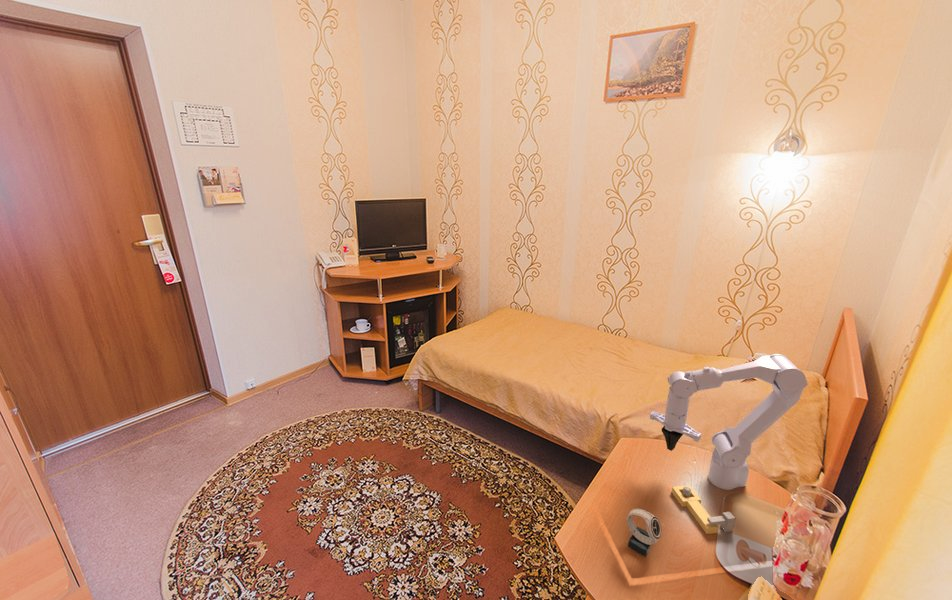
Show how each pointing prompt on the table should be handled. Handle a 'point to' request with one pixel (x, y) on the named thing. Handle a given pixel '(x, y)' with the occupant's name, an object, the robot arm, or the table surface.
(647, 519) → the watch
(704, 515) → the link
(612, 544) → the table surface
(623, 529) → the table surface
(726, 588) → the table surface
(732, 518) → the pintle board
